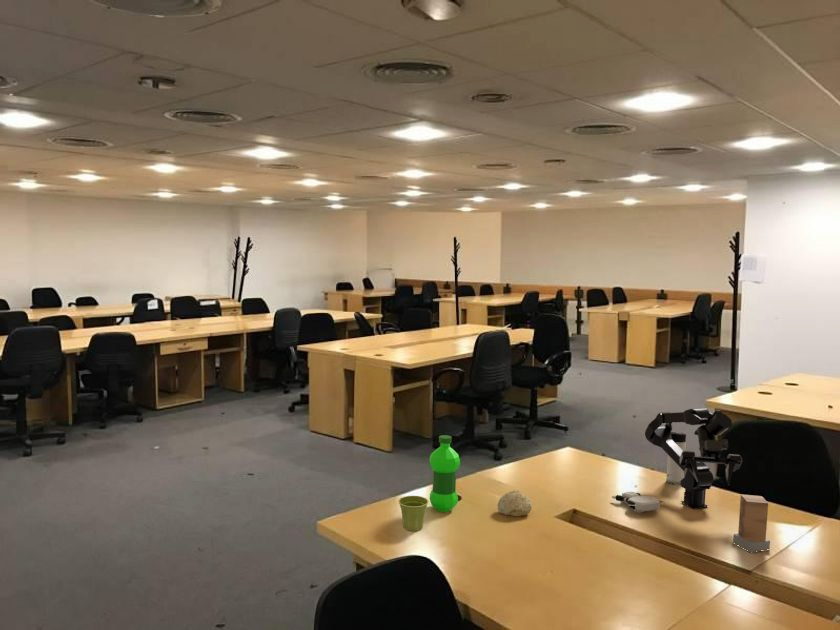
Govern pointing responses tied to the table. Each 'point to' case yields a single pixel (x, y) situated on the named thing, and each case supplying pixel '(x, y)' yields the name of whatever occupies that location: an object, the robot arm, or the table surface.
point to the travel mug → (673, 469)
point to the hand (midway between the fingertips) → (713, 483)
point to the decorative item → (514, 504)
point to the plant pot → (413, 512)
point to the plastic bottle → (444, 475)
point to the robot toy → (638, 501)
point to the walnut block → (753, 518)
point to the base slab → (751, 544)
